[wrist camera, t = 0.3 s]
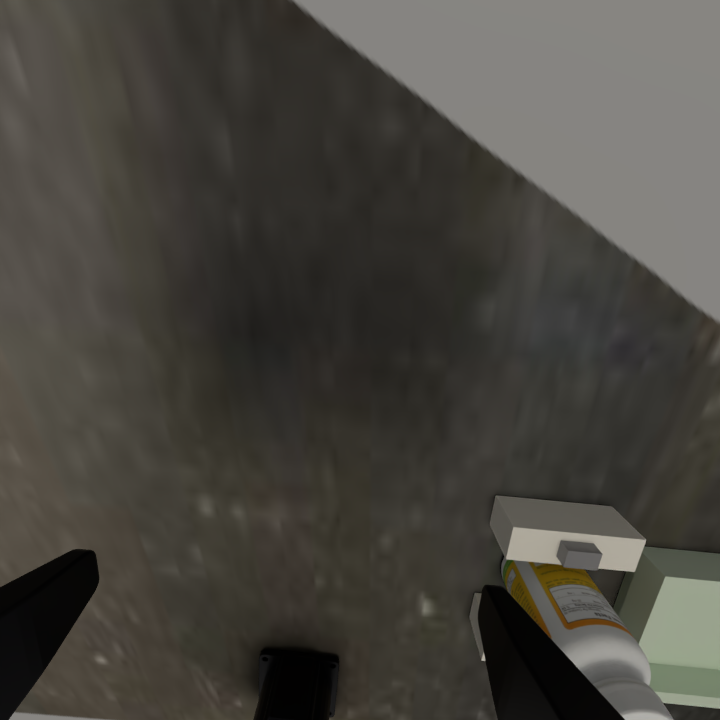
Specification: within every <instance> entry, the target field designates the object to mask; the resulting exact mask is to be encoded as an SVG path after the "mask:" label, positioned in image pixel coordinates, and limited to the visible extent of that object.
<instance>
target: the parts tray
mask: <svg viewBox="0 0 720 720" xmlns="http://www.w3.org/2000/svg"><path fill="white" fill-rule="evenodd" d="M613 610H614V611H615V613H616V614H617V615H618V617H619V618H620V619H621V621H622V622H623V624H624V625H625V626H626V628H627V629H628V630H629V631H630V633H631V634H632V636H633V637H634V638H635V640H636V641H637V643H638V644H639V646H640V647H641V649H642V650H643V652H644V654H645V655H646V657H647V659H648V662H649V666H650V670H651V680H650V684H649V686H650V687H651V688H652V689H653V690H654V692H655V693H656V694H657V695H658V696H659V697H660V699H661V700H662V702H663V703H671V704H681V705H691V706H700V707H710V708H720V554H718V553H708V552H697V551H687V550H677V549H666V548H656V547H645V546H644V548H643V551H642V554H641V556H640V559H639V562H638V564H637V567H636V570H635V572H630V571H626V573H625V576H624V579H623V582H622V584H621V587H620V590H619V593H618V596H617V598H616V601H615V604H614V607H613Z"/></svg>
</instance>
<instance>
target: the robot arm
mask: <svg viewBox="0 0 720 720" xmlns="http://www.w3.org/2000/svg"><path fill="white" fill-rule="evenodd" d="M98 583H99V572H98V565H97V558H96V554H95V552H94V551H92V550H84V549H74V550H72V551H69V552H67V553H65V554H64V555H62V556H60V557H58V558H56V559H54V560H52V561H50V562H48V563H46V564H44V565H42V566H40V567H38V568H36V569H35V570H33V571H31V572H29V573H27V574H25V575H23V576H21V577H19V578H17V579H15V580H13V581H11V582H9V583H7V584H6V585H4V586H2V587H0V720H9V718H10V717H11V716H12V714H13V713H14V712H15V710H16V709H17V708H18V706H19V705H20V703H21V702H22V701H23V699H24V698H25V697H26V695H27V694H28V693H29V691H30V690H31V689H32V687H33V686H34V684H35V683H36V682H37V680H38V679H39V677H40V676H41V675H42V673H43V672H44V670H45V669H46V667H47V666H48V664H49V663H50V661H51V660H52V658H53V657H54V655H55V654H56V652H57V650H58V649H59V647H60V646H61V644H62V643H63V641H64V639H65V638H66V636H67V635H68V633H69V632H70V630H71V628H72V627H73V625H74V624H75V622H76V620H77V619H78V617H79V616H80V614H81V613H82V611H83V609H84V608H85V606H86V605H87V603H88V602H89V600H90V598H91V597H92V595H93V594H94V592H95V590H96V588H97V586H98ZM478 625H479V630H480V635H481V640H482V645H483V650H484V655H485V661H486V666H487V671H488V676H489V681H490V686H491V691H492V696H493V701H494V705H495V710H496V714H497V718H498V720H625V719H624V718H623V717H622V716H621V715H620V713H619V712H618V711H617V710H616V709H615V708H614V707H613V706H612V705H611V704H610V703H609V701H608V700H607V699H606V698H605V697H604V696H603V695H602V694H601V693H600V692H599V691H598V689H597V688H596V687H595V686H594V685H593V684H592V683H591V682H590V681H589V680H588V679H587V677H586V676H585V675H584V674H583V673H582V672H581V671H580V670H579V669H578V668H577V667H576V665H575V664H574V663H573V662H572V661H571V660H570V659H569V658H568V657H567V656H566V655H565V653H564V652H563V651H562V650H561V649H560V648H559V647H558V646H557V645H556V644H555V643H554V641H553V640H552V639H551V638H550V637H549V636H548V635H547V634H546V633H545V632H544V631H543V629H542V628H541V627H540V626H539V625H538V624H537V623H536V622H535V621H534V620H533V619H532V617H531V616H530V615H529V614H528V613H527V612H526V611H525V610H524V609H523V608H522V607H521V605H520V604H519V603H518V602H517V601H516V600H515V599H514V598H513V597H512V596H511V595H510V593H509V592H508V591H507V590H506V589H505V588H503V587H502V586H496V585H485V586H484V587H483V589H482V594H481V599H480V604H479V609H478ZM338 670H339V659H338V658H337V657H335V656H327V655H317V654H308V653H298V652H288V651H278V650H269V649H264V650H262V651H261V654H260V657H259V701H258V704H257V708H256V712H255V716H254V719H253V720H329V717H333V716H334V714H335V703H336V692H337V681H338Z"/></svg>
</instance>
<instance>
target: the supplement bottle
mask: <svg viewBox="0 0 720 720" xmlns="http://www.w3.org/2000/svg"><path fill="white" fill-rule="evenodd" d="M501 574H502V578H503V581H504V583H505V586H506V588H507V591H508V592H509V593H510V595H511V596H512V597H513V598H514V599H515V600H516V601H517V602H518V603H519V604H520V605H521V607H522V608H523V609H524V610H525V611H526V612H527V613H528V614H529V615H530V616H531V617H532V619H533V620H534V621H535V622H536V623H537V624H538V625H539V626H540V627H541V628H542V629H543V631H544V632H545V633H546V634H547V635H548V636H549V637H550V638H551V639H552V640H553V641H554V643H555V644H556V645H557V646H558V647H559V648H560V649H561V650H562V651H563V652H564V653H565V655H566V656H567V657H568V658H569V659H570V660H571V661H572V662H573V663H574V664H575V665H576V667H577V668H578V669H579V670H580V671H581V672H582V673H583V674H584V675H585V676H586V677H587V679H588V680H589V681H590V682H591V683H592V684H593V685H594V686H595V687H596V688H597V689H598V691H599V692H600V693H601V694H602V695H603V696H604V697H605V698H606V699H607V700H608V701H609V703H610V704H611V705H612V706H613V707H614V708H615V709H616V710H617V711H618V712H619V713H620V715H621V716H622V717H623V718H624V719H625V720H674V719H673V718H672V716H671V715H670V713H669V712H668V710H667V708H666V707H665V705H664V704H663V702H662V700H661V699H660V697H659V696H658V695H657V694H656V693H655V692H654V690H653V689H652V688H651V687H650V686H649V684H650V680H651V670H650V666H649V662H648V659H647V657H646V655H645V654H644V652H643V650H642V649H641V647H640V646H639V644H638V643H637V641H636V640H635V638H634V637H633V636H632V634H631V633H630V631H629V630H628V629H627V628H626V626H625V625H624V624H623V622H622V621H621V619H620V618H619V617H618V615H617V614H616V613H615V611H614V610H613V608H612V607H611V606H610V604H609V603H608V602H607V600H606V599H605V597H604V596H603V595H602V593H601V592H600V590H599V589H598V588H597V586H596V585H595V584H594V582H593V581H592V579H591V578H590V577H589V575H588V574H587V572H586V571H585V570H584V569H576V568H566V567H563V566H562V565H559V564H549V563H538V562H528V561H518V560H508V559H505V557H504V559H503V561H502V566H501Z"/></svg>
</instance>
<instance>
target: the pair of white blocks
mask: <svg viewBox="0 0 720 720" xmlns="http://www.w3.org/2000/svg"><path fill="white" fill-rule="evenodd" d="M489 525H490V527H491V529H492V531H493V533H494V535H495V537H496V540H497V542H498V544H499V546H500V548H501V550H502V552H503V554H504V557H505V559H508V560H518V561H528V562H538V563H549V564H559V565H562V566H563V567H566V568H576V569H586V570H596V571H597V570H598V568H600V569H610V570H620V571H630V572H635V570H636V567H637V564H638V562H639V559H640V556H641V554H642V551H643V548H644V545H645V543H646V539H645V538H644V537H643V536H642V535H641V534H640V533H639V532H638V531H637V530H636V529H635V528H634V527H633V526H631V525H630V524H629V523H628V522H627V521H626V520H625V519H624V518H623V517H622V516H621V515H620V514H619V513H618V512H617V511H616V510H615V509H614V508H613V507H612V506H603V505H593V504H582V503H572V502H561V501H551V500H540V499H530V498H519V497H509V496H498V495H496V496H495V500H494V505H493V510H492V514H491V519H490V524H489ZM481 594H482V593H474V597H473V602H472V606H471V611H470V616H469V618H470V621H471V625H472V629H473V632H474V636H475V639H476V643H477V646H478V650H479V653H480V657H481V660H482V661H485V655H484V650H483V645H482V640H481V635H480V630H479V625H478V609H479V604H480V599H481Z"/></svg>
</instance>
